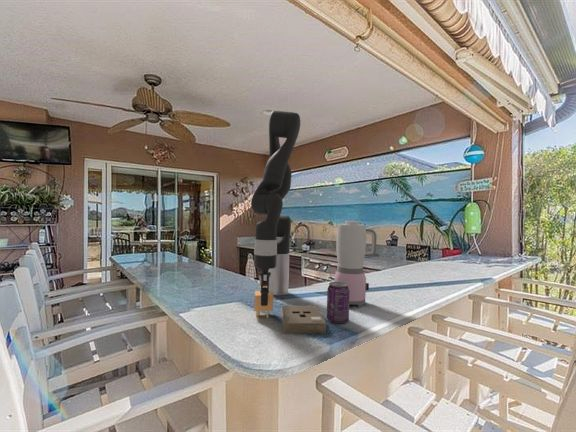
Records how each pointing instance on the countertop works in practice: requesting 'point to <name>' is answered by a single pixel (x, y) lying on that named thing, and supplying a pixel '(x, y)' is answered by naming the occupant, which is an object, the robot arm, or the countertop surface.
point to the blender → (353, 258)
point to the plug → (263, 308)
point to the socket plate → (302, 320)
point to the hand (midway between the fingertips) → (264, 301)
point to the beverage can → (338, 302)
